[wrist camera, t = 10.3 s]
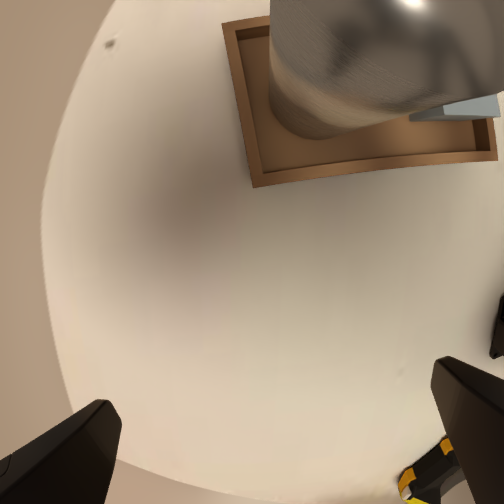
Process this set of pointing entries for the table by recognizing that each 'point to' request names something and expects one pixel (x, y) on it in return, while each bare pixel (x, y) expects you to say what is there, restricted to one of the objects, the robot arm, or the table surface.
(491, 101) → the pale grey cube
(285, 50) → the metal cylinder
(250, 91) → the walnut tray
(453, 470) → the gaming controller
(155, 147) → the table surface
